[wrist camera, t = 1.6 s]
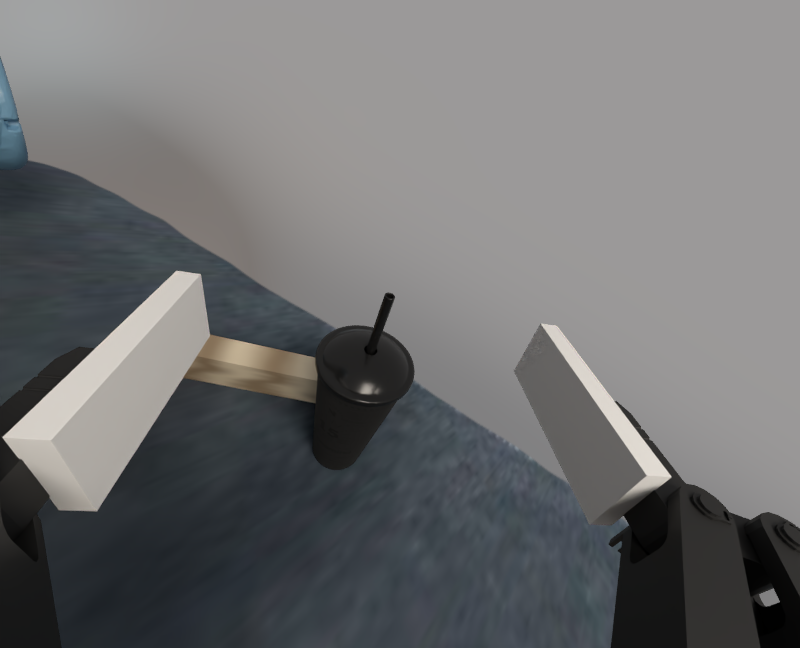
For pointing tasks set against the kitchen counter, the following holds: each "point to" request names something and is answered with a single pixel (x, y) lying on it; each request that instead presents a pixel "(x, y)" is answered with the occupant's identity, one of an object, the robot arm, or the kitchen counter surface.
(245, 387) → the wooden l-shaped block
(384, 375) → the drinking cup
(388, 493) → the kitchen counter surface
